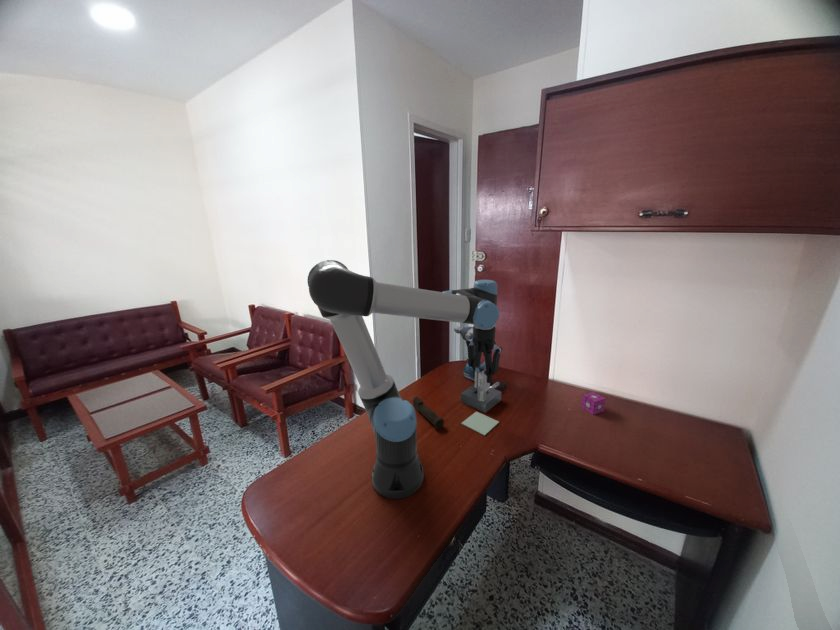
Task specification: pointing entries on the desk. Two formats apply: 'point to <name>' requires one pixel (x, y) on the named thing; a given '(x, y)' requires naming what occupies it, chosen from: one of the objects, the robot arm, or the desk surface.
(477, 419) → the mat
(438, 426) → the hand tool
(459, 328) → the impact wrench
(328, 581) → the desk surface
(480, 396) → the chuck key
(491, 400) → the block
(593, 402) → the puzzle toy
